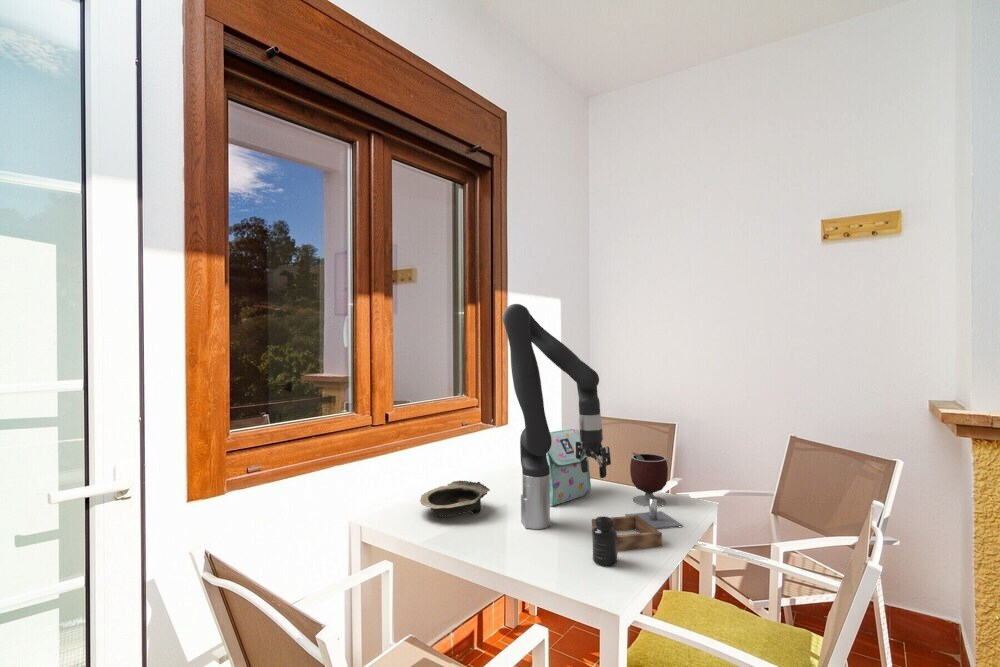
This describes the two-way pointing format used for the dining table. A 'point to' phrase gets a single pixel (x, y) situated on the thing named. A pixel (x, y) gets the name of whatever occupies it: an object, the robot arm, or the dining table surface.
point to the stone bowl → (455, 498)
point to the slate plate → (658, 520)
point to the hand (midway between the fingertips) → (593, 474)
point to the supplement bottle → (604, 542)
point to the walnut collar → (634, 541)
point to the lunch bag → (566, 468)
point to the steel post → (653, 509)
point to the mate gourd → (648, 476)
